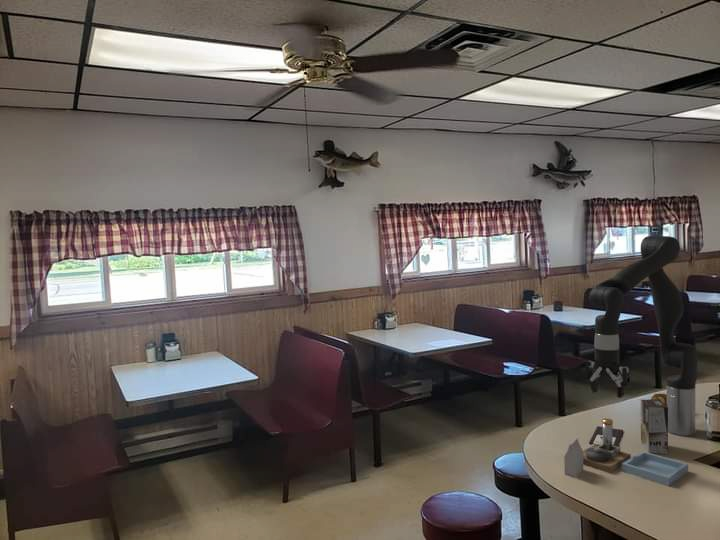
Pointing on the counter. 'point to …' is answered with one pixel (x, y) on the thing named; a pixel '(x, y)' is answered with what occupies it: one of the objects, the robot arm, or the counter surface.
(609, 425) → the lock pin
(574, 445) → the grey house block
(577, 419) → the counter surface
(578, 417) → the counter surface
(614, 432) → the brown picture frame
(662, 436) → the coffee box
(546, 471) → the counter surface
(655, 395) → the pastry
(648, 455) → the tray
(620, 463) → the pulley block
